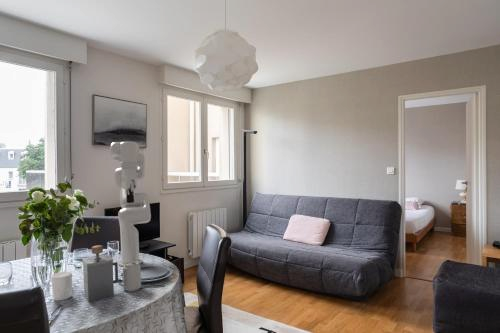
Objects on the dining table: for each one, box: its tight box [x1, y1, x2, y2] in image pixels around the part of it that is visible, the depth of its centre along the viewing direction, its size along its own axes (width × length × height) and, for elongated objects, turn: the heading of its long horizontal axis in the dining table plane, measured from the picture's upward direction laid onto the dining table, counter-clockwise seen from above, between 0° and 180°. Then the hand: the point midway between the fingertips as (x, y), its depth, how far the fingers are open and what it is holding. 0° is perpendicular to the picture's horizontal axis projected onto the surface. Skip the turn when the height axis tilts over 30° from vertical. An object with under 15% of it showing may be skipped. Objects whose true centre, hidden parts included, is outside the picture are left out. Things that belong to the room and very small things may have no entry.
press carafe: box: [81, 253, 119, 303], centre depth 145 cm, size 10×13×16 cm
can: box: [122, 261, 142, 292], centre depth 151 cm, size 8×8×12 cm
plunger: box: [91, 245, 104, 260], centre depth 144 cm, size 4×4×14 cm
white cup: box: [50, 270, 73, 302], centre depth 144 cm, size 8×8×10 cm
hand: (130, 202), depth 168 cm, fingers closed
